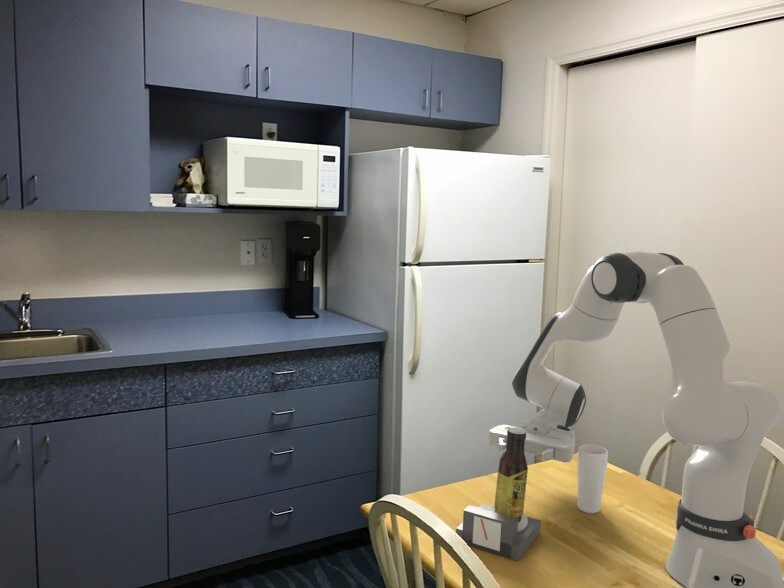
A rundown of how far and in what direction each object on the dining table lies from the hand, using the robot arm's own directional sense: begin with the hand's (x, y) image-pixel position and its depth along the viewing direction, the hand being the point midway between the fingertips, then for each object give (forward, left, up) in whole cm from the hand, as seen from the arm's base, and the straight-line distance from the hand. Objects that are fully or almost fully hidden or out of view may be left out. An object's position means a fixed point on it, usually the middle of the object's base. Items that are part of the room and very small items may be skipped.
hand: (519, 453), depth 153 cm
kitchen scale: (0, +11, -16) cm, 19 cm away
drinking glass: (-13, -14, -16) cm, 25 cm away
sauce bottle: (-1, +9, -12) cm, 15 cm away
